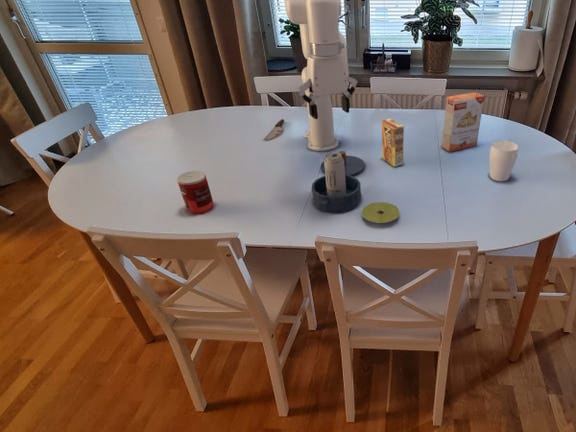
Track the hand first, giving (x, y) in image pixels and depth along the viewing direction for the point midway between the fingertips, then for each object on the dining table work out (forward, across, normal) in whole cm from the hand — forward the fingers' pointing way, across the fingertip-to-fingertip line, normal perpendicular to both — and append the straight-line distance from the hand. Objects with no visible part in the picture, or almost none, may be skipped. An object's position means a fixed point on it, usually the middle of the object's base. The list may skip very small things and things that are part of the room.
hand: (330, 114), depth 110 cm
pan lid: (+28, -12, -19) cm, 36 cm away
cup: (+28, -56, +16) cm, 65 cm away
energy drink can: (+28, 0, 0) cm, 28 cm away
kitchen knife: (+28, -3, -66) cm, 72 cm away
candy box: (+28, -30, -14) cm, 44 cm away
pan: (+28, 0, 0) cm, 28 cm away
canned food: (+28, +38, -18) cm, 51 cm away
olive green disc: (+28, -7, +16) cm, 33 cm away
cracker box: (+28, -61, -11) cm, 68 cm away
